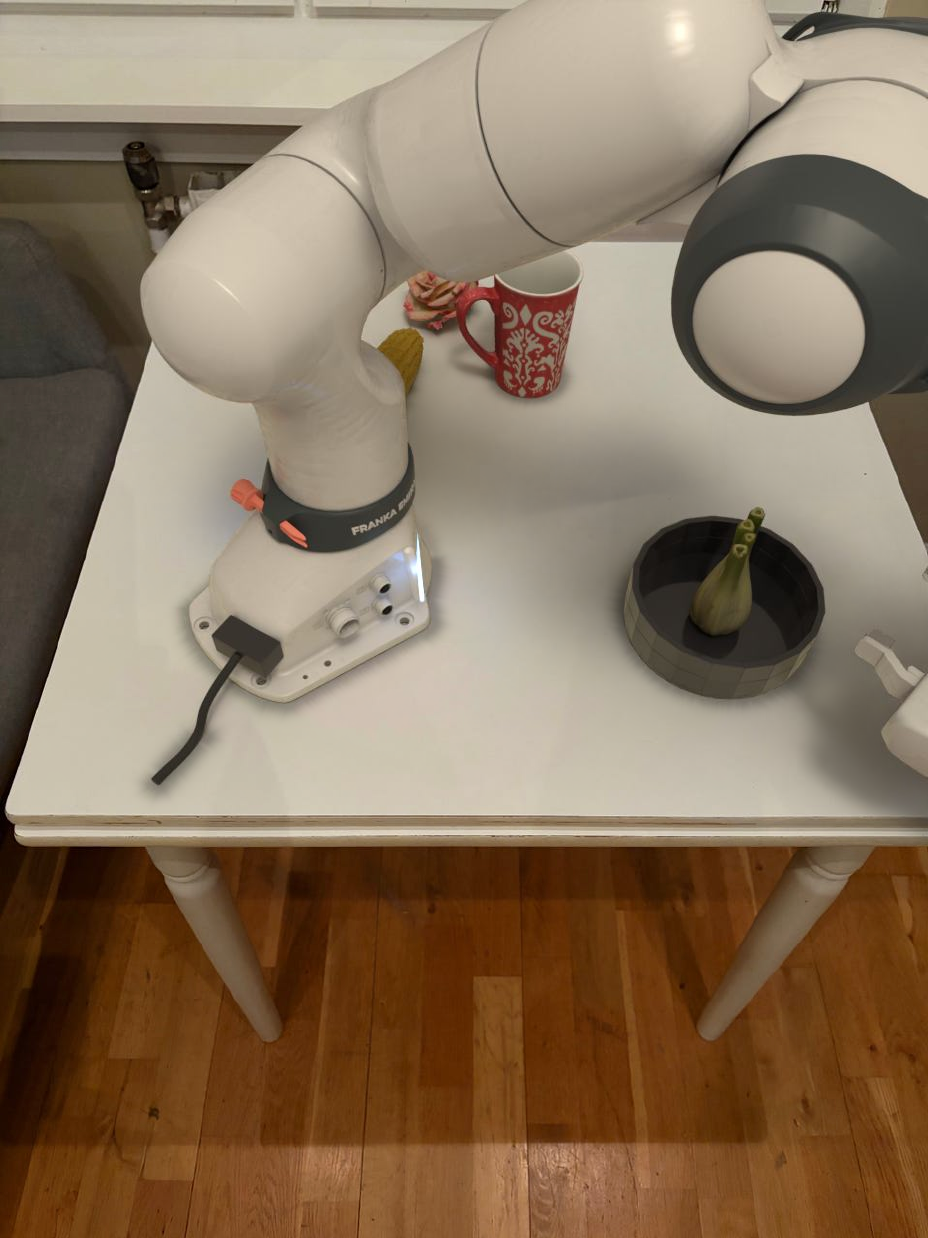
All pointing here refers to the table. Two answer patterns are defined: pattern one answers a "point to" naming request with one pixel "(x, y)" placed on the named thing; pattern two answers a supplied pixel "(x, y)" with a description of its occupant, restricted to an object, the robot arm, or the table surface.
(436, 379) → the table surface
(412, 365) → the food
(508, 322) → the mug
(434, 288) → the flower
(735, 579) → the fennel bulb
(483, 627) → the table surface
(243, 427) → the table surface
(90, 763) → the table surface
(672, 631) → the pan
